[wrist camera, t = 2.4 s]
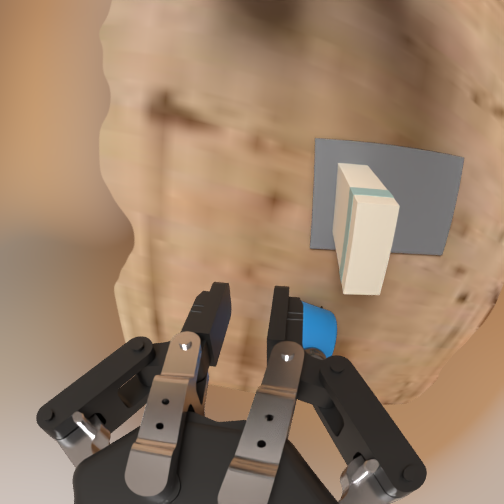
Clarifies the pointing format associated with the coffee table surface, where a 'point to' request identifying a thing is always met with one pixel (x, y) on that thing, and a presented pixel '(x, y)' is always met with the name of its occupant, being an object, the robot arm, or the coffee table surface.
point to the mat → (391, 191)
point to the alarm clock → (318, 331)
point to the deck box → (363, 228)
